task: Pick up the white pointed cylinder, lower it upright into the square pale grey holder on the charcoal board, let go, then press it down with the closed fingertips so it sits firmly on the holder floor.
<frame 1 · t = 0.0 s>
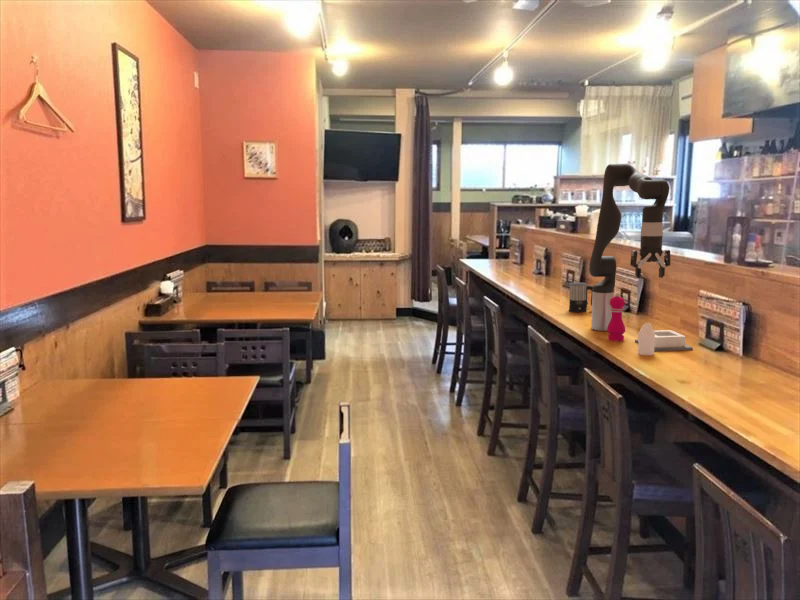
hand: (649, 277, 232), 29 cm above the table, tool pointing down, fingers open, 8 cm apart
milk frother: (578, 310, 329), on the table
holder: (662, 345, 248), on the table
pepper mill: (615, 340, 260), on the table
white pointed cylinder: (645, 354, 236), on the table
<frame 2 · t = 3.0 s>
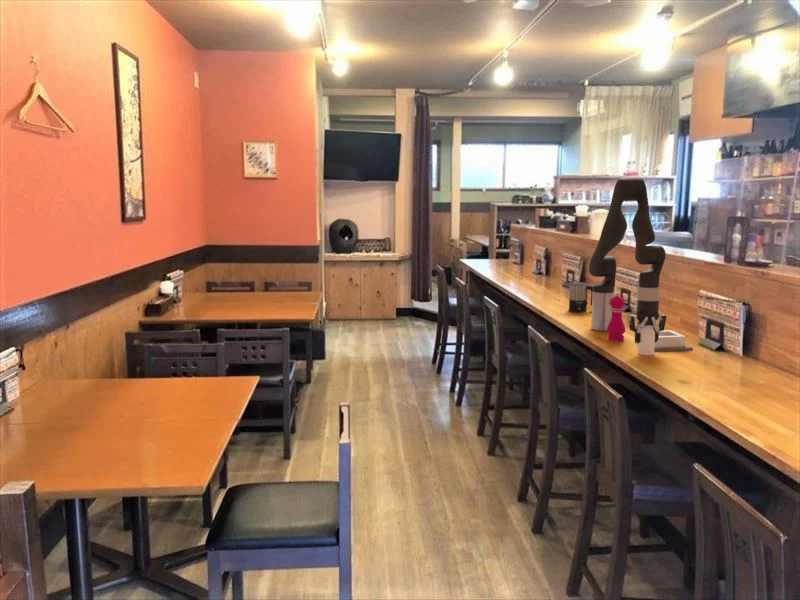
hand: (646, 341, 236), 5 cm above the table, tool pointing down, fingers closed on white pointed cylinder, 6 cm apart
white pointed cylinder: (645, 354, 236), on the table, touching gripper
everything else where it was.
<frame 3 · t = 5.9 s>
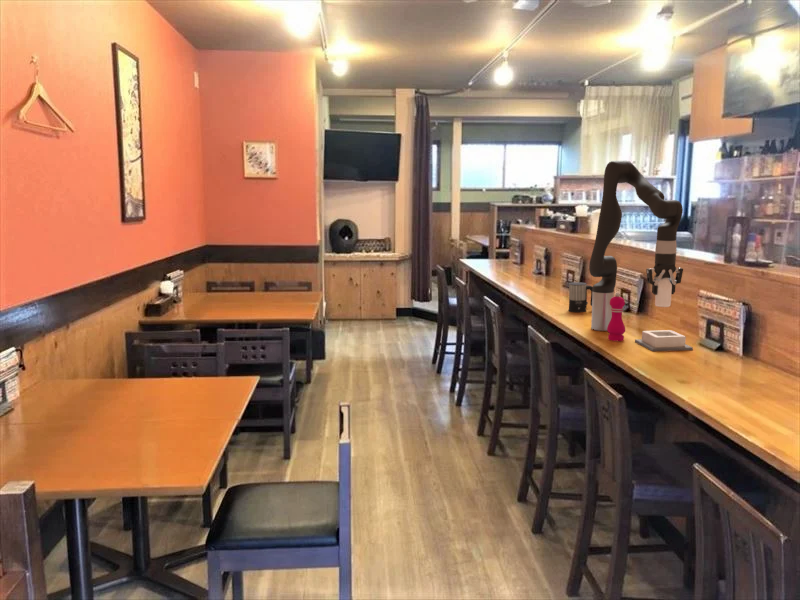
hand: (663, 294, 244), 21 cm above the table, tool pointing down, fingers closed on white pointed cylinder, 6 cm apart
white pointed cylinder: (662, 306, 244), point 16 cm above the table, touching gripper
everything else where it was.
when the fingers open (6 cm above the table, at t = 9.0 s): white pointed cylinder stays where it is, resting on holder.
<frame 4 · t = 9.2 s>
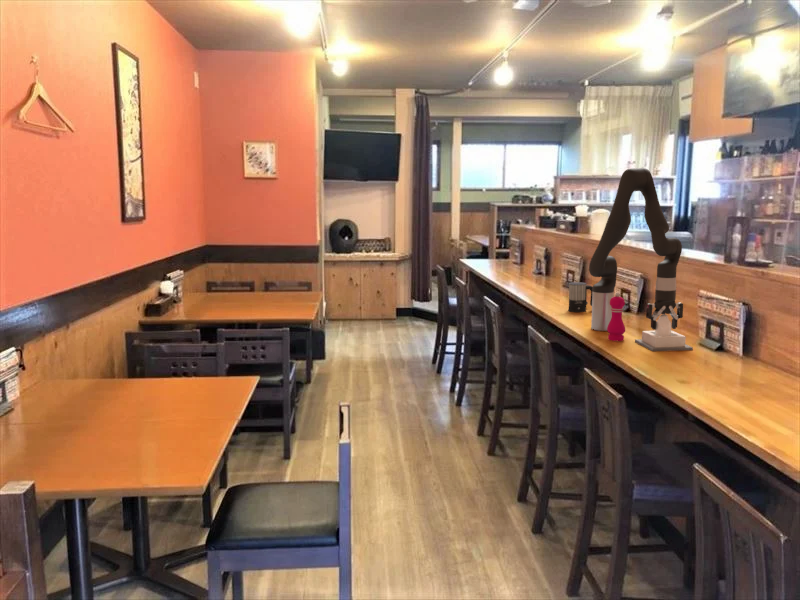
hand: (663, 328, 247), 7 cm above the table, tool pointing down, fingers open, 7 cm apart
white pointed cylinder: (662, 343, 248), point 1 cm above the table, touching holder
everything else where it was.
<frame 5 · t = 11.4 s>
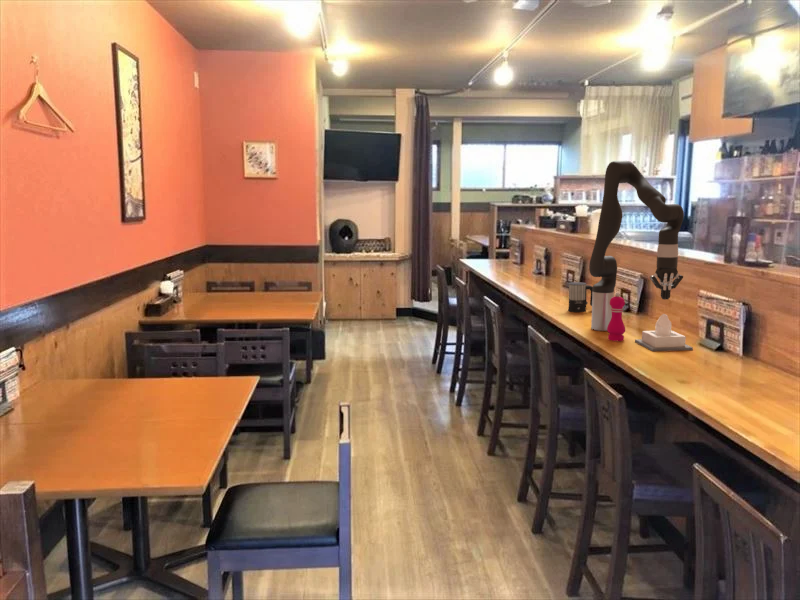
hand: (665, 299, 245), 19 cm above the table, tool pointing down, fingers closed
nothing on the table moved.
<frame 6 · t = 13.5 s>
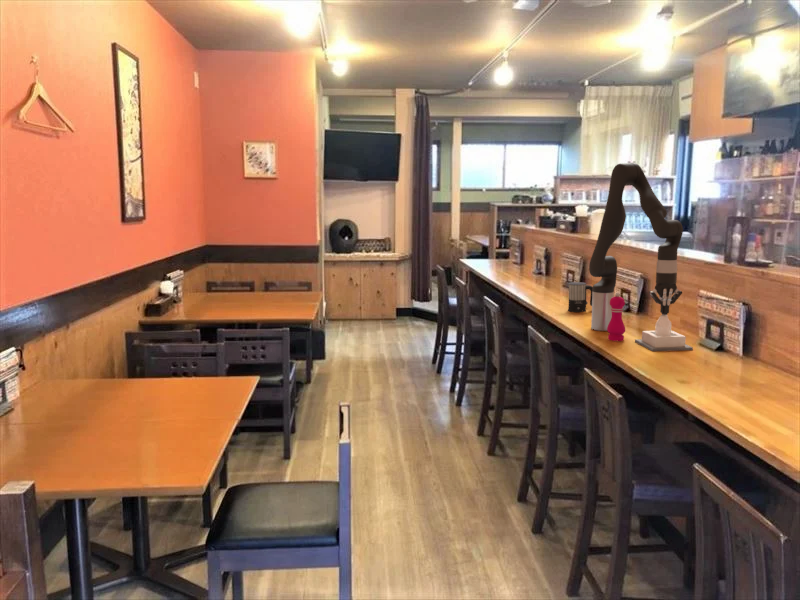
hand: (664, 314, 246), 13 cm above the table, tool pointing down, fingers closed
white pointed cylinder: (662, 343, 248), point 1 cm above the table, touching gripper, holder
everything else where it was.
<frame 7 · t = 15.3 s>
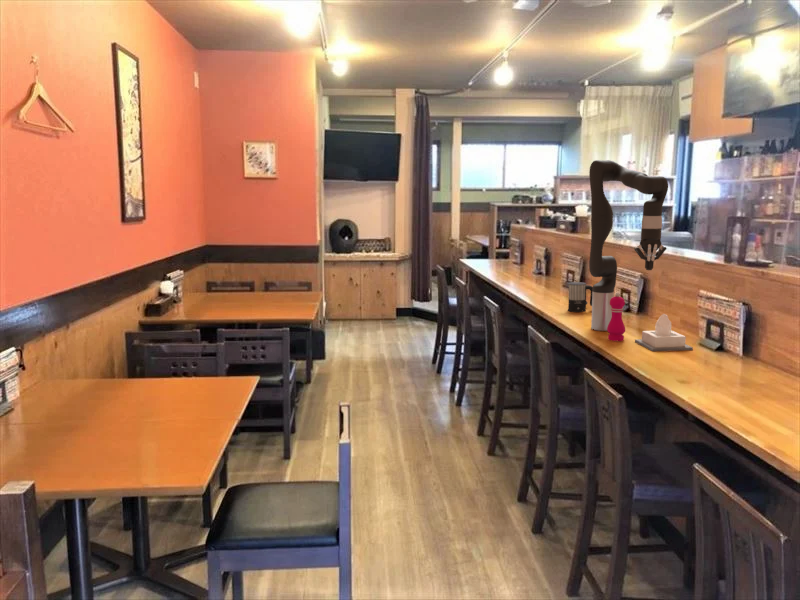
hand: (648, 270, 250), 30 cm above the table, tool pointing down, fingers closed
white pointed cylinder: (662, 343, 248), point 1 cm above the table, touching holder
everything else where it was.
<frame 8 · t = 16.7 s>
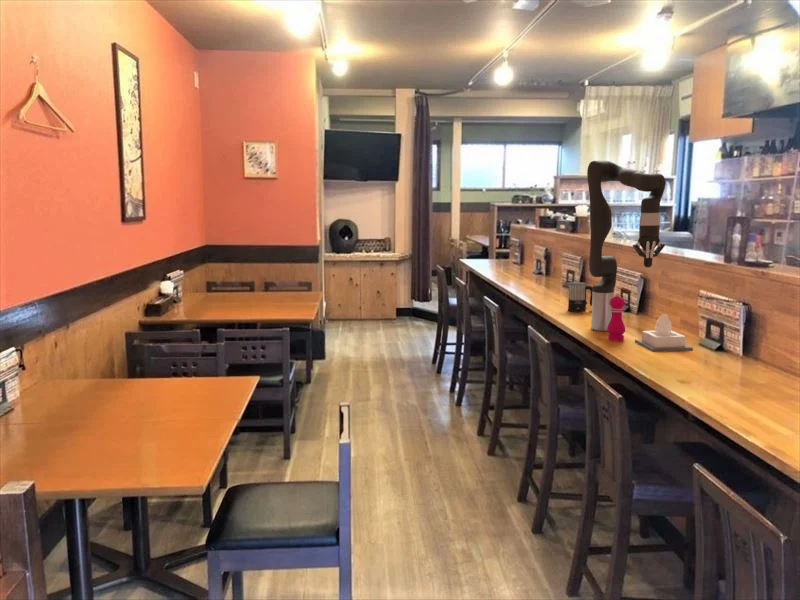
hand: (647, 267, 250), 31 cm above the table, tool pointing down, fingers closed
nothing on the table moved.
at the end: white pointed cylinder 0.2 cm off-centre on the holder, point 0.8 cm above the holder's base; white pointed cylinder tilted 0°; the gripper is holding nothing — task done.
